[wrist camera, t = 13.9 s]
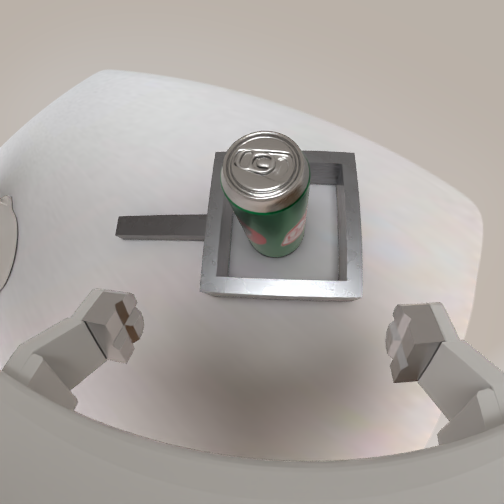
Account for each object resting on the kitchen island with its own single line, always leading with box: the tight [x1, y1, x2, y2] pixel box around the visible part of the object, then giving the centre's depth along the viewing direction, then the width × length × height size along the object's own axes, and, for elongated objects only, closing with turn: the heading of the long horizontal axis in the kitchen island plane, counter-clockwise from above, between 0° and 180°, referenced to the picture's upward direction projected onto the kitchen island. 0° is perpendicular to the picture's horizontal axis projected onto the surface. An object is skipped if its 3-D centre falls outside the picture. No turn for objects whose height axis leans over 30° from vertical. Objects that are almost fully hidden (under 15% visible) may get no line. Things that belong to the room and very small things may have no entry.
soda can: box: [220, 131, 311, 257], centre depth 20 cm, size 5×5×12 cm
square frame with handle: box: [115, 151, 363, 301], centre depth 25 cm, size 23×12×4 cm, turn 87°
